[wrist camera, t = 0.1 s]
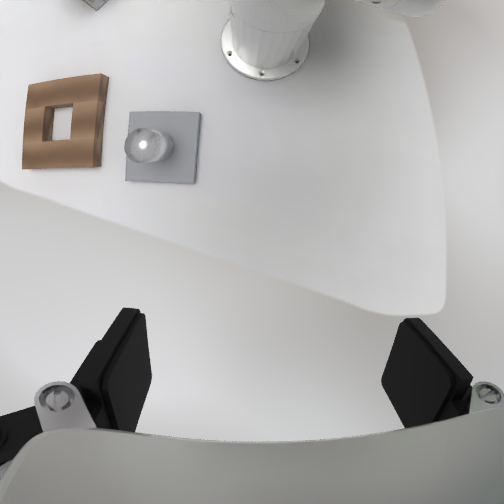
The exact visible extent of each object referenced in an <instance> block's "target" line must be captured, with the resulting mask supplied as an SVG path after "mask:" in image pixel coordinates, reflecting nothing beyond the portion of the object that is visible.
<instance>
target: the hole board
mask: <svg viewBox="0 0 504 504" xmlns="http://www.w3.org/2000/svg"><path fill="white" fill-rule="evenodd" d="M108 80H109V77H107V76H105V75H103V74H92V75H84V76H77V77H70V78H64V79H57V80H52V81H46V82H41V83H36V84H31V85H29V87H28V94H27V102H26V111H25V121H24V134H23V155H22V169H41V168H74V167H98V166H101V154H102V137H103V125H104V114H105V104H106V95H107V87H108ZM69 106H73V112H72V123H71V136H70V140H58V141H52V129H53V117H54V108H60V107H69Z"/></svg>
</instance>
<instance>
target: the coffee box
mask: <svg viewBox="0 0 504 504" xmlns="http://www.w3.org/2000/svg"><path fill="white" fill-rule="evenodd" d="M83 1H84V2H86V3H87V4H89V5H90V6H91V7H92V8H94V9H95V10H98V9H99V8H100V7H101V6H102V5H103V4H104V3H105V2H107V1H108V0H83Z"/></svg>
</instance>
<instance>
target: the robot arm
mask: <svg viewBox="0 0 504 504" xmlns="http://www.w3.org/2000/svg"><path fill="white" fill-rule="evenodd" d="M325 1H326V0H229V10H230V19H229V20H228V22H227V23H226V25H225V27H224V28H223V31H222V35H221V47H222V51H223V54H224V57H225V58H226V60H227V62H228V63H229V64H230V65H231V66H232V67H233V68H234V69H235V70H236V71H238V72H239V73H241V74H243V75H245V76H246V77H249V78H253V79H257V80H276V79H281V78H283V77H286V76H288V75H290V74H292V73H293V72H295V71H296V70H297V69H298V68H299V67H300V66H301V65H302V63H303V62H304V60H305V59H306V57H307V54H308V51H309V38H308V33H309V31H310V29H311V28H312V26H313V24H314V23H315V21H316V20H317V18H318V16H319V14H320V13H321V11H322V9H323V7H324V5H325ZM354 1H358V2H362V3H365V4H368V5H372V6H375V7H378V8H382V9H385V10H388V11H391V12H394V13H398V14H401V15H405V16H411V17H422V16H426V15H429V14H431V13H433V12H434V11H436V10H437V9H438V8H439V7H440V6H441V5H442V3H443V2H444V1H445V0H354ZM229 54H231V55H232V56H228V55H229ZM295 61H298V63H295ZM260 74H263V75H264V76H260ZM151 379H152V373H151V365H150V357H149V348H148V339H147V329H146V319H145V315H144V314H142V313H140V310H139V309H133V308H123V309H122V310H121V312H120V313H119V315H118V316H117V317H116V319H115V321H114V322H113V324H112V325H111V326H110V328H109V329H108V331H107V332H106V334H105V335H104V337H103V338H102V340H99V341H97V342H96V343H95V345H94V347H93V348H92V349H91V351H90V352H89V354H88V355H87V357H86V359H85V360H84V362H83V363H82V365H81V366H80V368H79V369H78V371H77V373H76V374H75V376H74V377H73V379H72V381H71V382H70V383H66V382H51V383H49V384H46V385H44V386H43V387H41V388H40V389H39V390H38V391H37V393H36V395H35V398H34V401H35V406H33V407H30V408H26V409H23V410H20V411H17V412H14V413H10V414H7V415H3V416H0V504H504V393H503V392H502V390H501V389H500V388H499V387H497V386H496V385H494V384H492V383H490V382H478V383H476V384H475V385H474V386H473V387H472V386H471V385H470V383H471V381H472V379H473V376H472V375H471V374H470V373H469V371H468V370H467V369H466V368H465V367H464V366H463V365H462V364H461V362H460V361H459V360H458V359H457V358H456V357H455V356H454V355H453V354H452V352H451V351H450V350H449V349H448V348H447V347H446V346H445V345H444V344H443V343H442V341H441V340H440V339H439V338H438V337H437V336H436V335H435V334H434V333H433V332H432V331H431V330H430V329H429V328H428V327H427V325H426V324H425V323H424V322H423V321H422V320H421V319H419V318H406V319H404V321H403V322H401V323H400V325H399V327H398V331H397V334H396V337H395V340H394V343H393V346H392V349H391V352H390V355H389V358H388V361H387V364H386V367H385V370H384V372H383V375H382V379H381V382H382V386H383V388H384V390H385V392H386V394H387V395H388V397H389V399H390V401H391V403H392V405H393V406H394V408H395V410H396V412H397V414H398V416H399V418H400V420H401V422H402V423H403V425H404V427H405V428H404V429H400V430H394V431H387V432H381V433H375V434H368V435H360V436H352V437H343V438H333V439H320V440H305V441H280V442H240V441H239V442H237V441H216V440H201V439H189V438H178V437H168V436H161V435H152V434H143V433H135V430H136V427H137V424H138V420H139V417H140V414H141V411H142V408H143V405H144V402H145V398H146V396H147V393H148V390H149V387H150V384H151Z"/></svg>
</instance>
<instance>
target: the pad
mask: <svg viewBox="0 0 504 504" xmlns="http://www.w3.org/2000/svg"><path fill="white" fill-rule="evenodd" d="M200 118H201V114H200V113H199V112H130V117H129V128H128V135H129V134H130V133H131V132H132V131H134V130H136V129H139V128H146V129H150V130H155V131H159V132H163V133H166V134H168V135H170V136H171V137H172V139H173V141H174V151H173V153H172V155H171V156H170V157H169V158H167V159H166V160H163V161H155V162H147V163H136V162H133V161H131V160H130V159H129V158H128V156H126V178H125V181H145V182H168V183H187V184H194V183H195V178H196V164H197V152H198V140H199V129H200Z"/></svg>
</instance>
